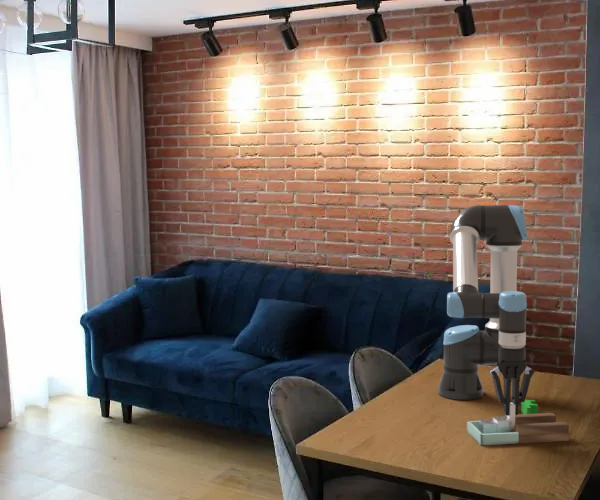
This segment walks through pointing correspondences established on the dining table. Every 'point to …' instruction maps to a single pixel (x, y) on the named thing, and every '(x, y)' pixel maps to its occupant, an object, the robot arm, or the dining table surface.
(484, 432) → the chip
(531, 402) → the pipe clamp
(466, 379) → the robot arm
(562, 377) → the dining table surface
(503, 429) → the chip
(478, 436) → the tray
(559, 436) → the slot board
